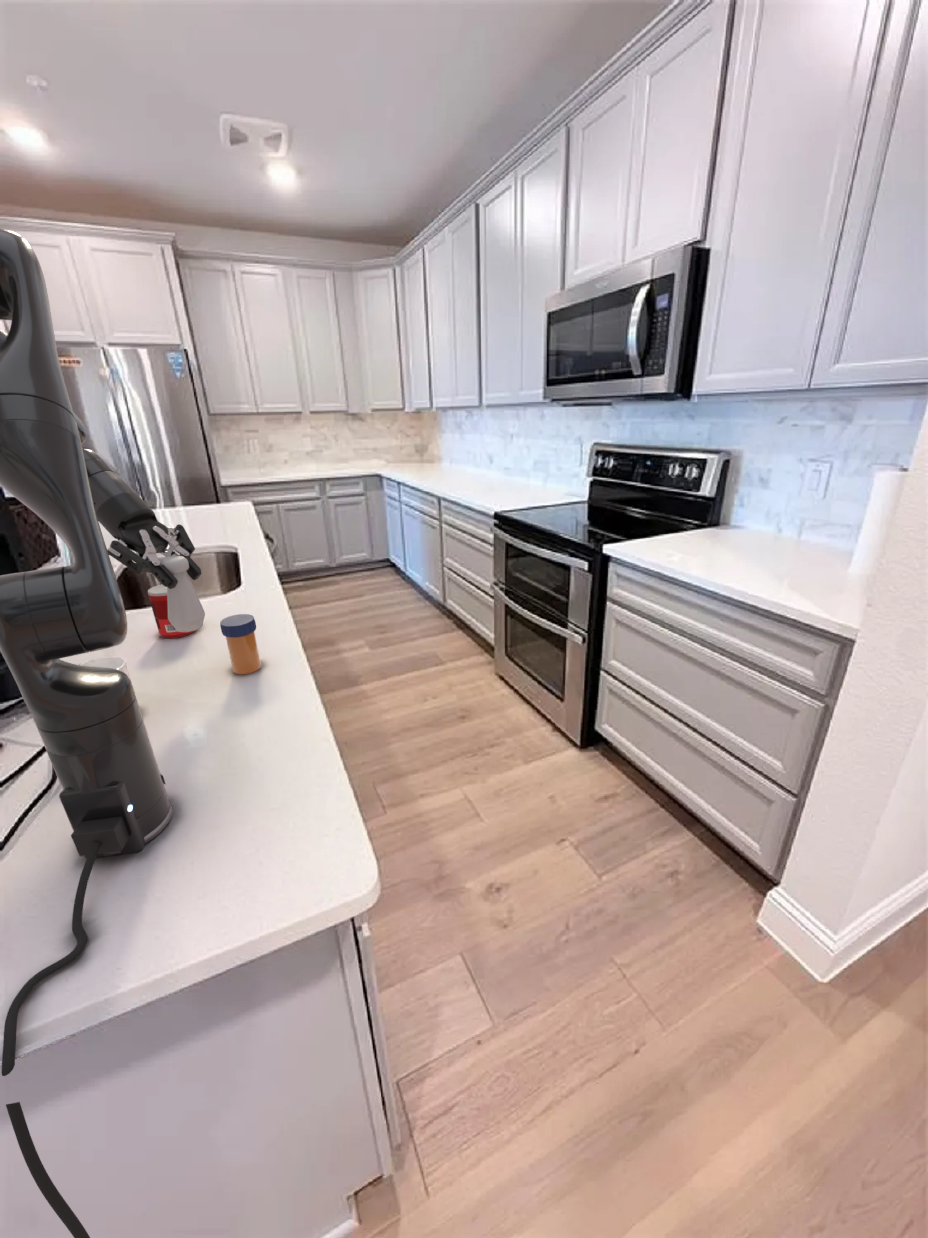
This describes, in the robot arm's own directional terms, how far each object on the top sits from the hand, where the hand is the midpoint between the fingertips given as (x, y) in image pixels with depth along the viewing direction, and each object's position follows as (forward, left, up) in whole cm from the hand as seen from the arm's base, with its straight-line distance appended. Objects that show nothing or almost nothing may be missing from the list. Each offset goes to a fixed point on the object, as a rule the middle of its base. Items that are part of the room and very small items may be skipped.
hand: (186, 580), depth 87 cm
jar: (+6, -5, -21) cm, 22 cm away
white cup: (-9, +13, -21) cm, 26 cm away
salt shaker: (+1, +2, -9) cm, 9 cm away
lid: (+6, -5, -11) cm, 13 cm away
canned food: (+28, +15, -21) cm, 38 cm away
